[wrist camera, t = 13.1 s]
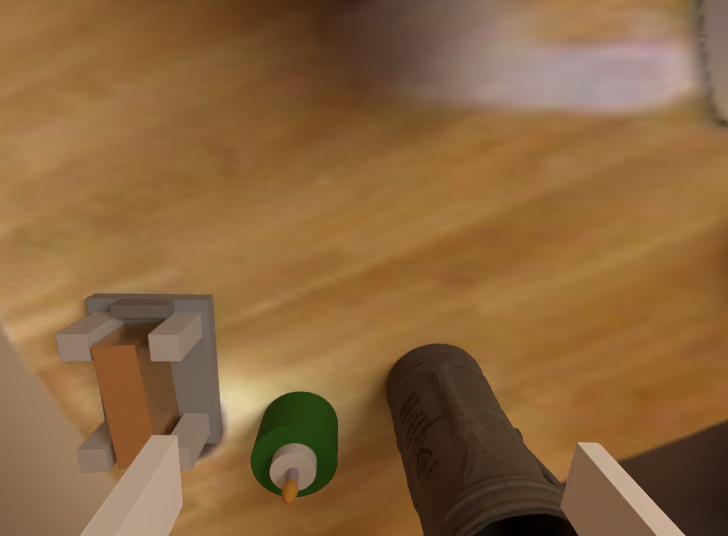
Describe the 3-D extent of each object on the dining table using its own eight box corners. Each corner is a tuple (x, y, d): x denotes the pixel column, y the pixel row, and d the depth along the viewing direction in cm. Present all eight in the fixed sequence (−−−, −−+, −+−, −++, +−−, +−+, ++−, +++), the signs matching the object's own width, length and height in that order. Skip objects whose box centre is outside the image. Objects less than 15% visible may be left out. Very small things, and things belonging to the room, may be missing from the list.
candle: (341, 393, 40) (341, 463, 30) (334, 457, 42) (332, 542, 32) (264, 389, 39) (239, 459, 29) (260, 454, 41) (236, 540, 31)
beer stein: (367, 417, 41) (414, 640, 22) (396, 331, 38) (477, 495, 19) (489, 437, 44) (626, 648, 25) (523, 358, 41) (703, 524, 22)
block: (125, 323, 35) (90, 347, 30) (163, 321, 35) (134, 344, 30) (147, 431, 38) (119, 469, 33) (182, 429, 38) (158, 466, 33)
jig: (95, 293, 35) (43, 319, 29) (212, 294, 36) (185, 320, 30) (117, 435, 39) (75, 484, 33) (222, 433, 40) (200, 481, 34)
